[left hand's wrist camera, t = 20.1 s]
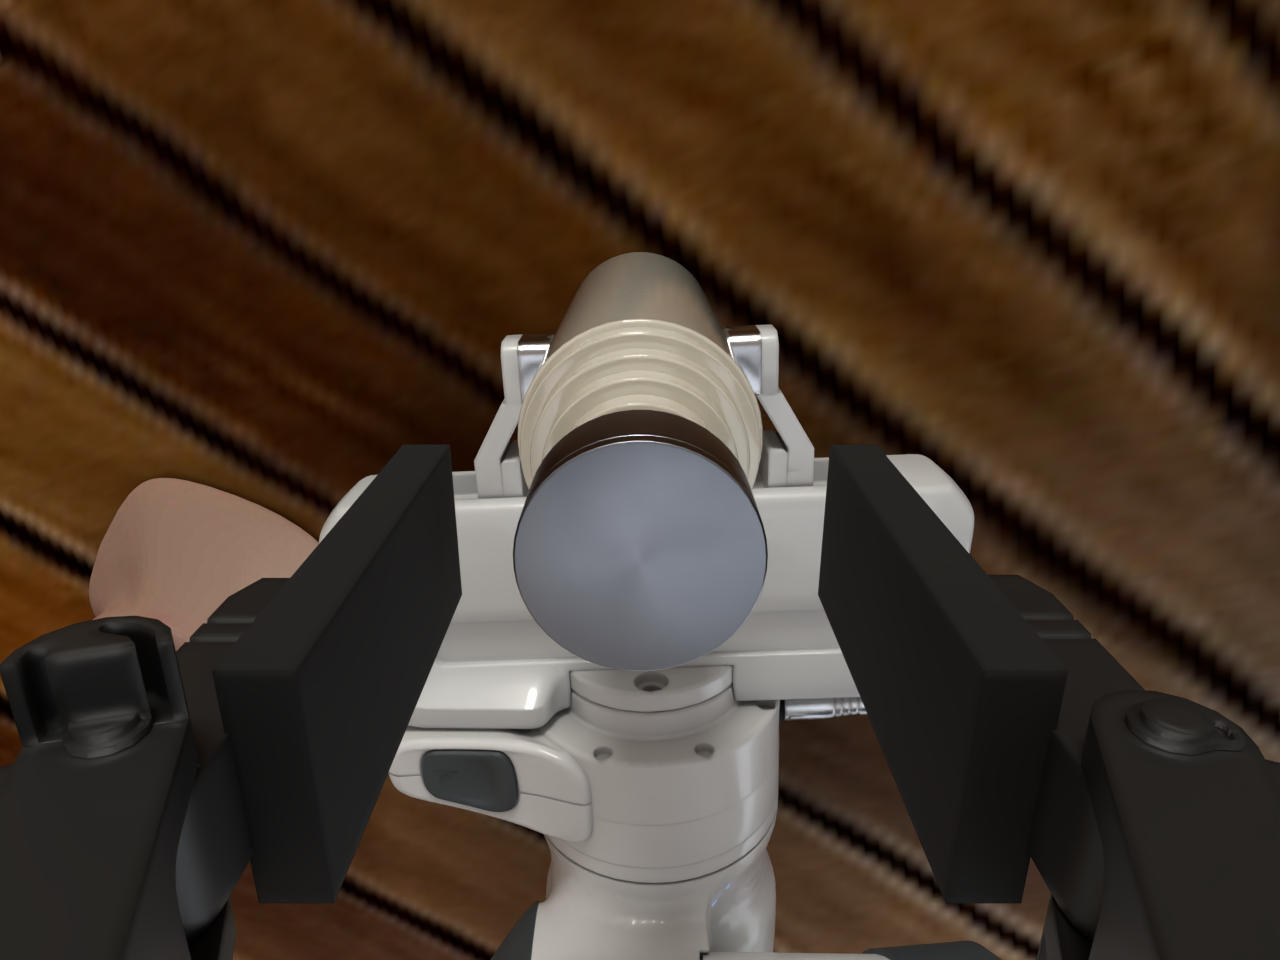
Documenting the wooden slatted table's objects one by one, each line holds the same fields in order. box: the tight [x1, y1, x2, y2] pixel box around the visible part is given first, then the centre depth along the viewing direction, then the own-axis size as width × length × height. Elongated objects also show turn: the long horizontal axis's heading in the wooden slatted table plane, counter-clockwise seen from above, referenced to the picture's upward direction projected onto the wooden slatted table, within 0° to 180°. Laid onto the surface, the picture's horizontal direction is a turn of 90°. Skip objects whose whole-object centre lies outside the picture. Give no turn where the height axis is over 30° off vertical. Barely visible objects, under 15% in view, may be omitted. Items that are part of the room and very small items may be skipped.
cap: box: [513, 410, 768, 671], centre depth 13 cm, size 4×4×2 cm
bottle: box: [518, 252, 763, 490], centre depth 22 cm, size 5×5×20 cm
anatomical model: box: [89, 478, 319, 651], centre depth 34 cm, size 13×4×12 cm
